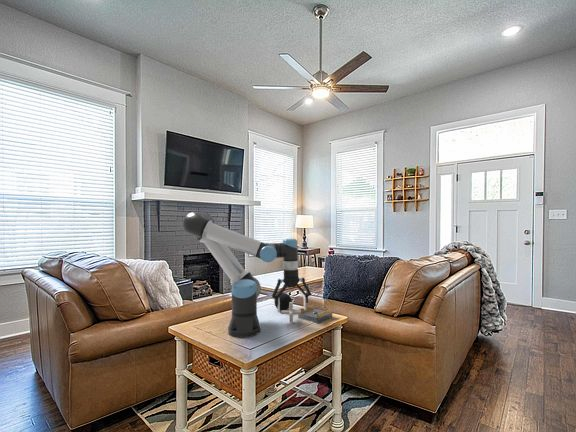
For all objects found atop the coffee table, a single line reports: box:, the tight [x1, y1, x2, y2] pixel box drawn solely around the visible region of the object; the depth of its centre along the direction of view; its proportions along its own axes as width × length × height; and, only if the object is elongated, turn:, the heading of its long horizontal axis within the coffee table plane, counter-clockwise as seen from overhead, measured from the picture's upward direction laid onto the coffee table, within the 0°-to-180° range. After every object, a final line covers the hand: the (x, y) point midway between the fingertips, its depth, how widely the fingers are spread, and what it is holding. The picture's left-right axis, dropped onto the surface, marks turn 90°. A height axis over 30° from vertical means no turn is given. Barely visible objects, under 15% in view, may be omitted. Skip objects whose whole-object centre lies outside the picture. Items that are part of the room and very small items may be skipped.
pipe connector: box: [280, 301, 301, 324], centre depth 162 cm, size 10×10×10 cm
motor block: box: [297, 304, 333, 324], centre depth 169 cm, size 13×13×4 cm
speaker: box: [273, 292, 293, 312], centre depth 182 cm, size 10×10×10 cm
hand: (292, 310), depth 162 cm, fingers open, 13 cm apart
